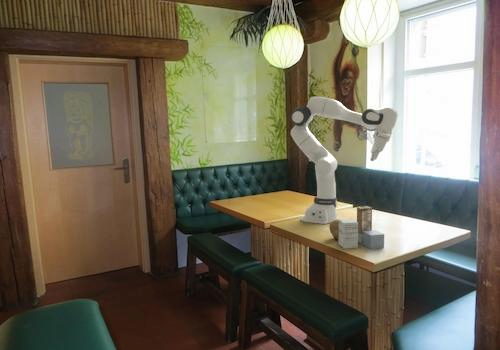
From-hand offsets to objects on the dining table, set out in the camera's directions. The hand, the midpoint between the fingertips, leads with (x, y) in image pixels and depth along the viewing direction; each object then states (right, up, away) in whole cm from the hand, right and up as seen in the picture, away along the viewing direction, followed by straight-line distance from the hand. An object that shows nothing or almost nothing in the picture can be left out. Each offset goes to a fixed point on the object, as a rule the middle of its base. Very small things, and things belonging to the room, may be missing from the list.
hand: (373, 160), depth 211 cm
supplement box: (-20, -43, -25) cm, 54 cm away
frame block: (-10, -37, -19) cm, 43 cm away
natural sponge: (-22, -41, -14) cm, 49 cm away
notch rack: (-9, -42, -22) cm, 48 cm away
